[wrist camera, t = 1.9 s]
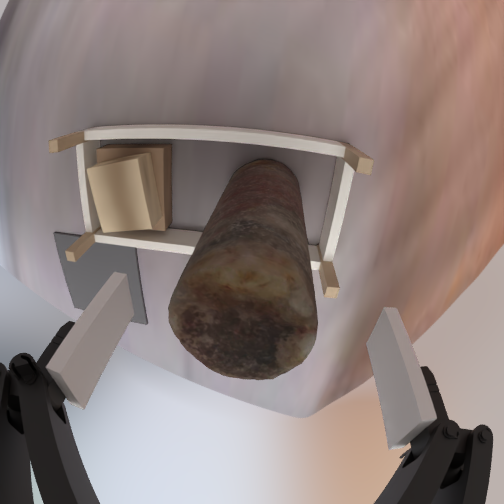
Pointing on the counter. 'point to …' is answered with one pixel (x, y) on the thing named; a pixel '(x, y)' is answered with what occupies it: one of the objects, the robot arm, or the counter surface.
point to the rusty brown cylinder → (250, 280)
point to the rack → (188, 240)
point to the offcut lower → (161, 168)
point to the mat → (100, 272)
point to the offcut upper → (125, 193)
